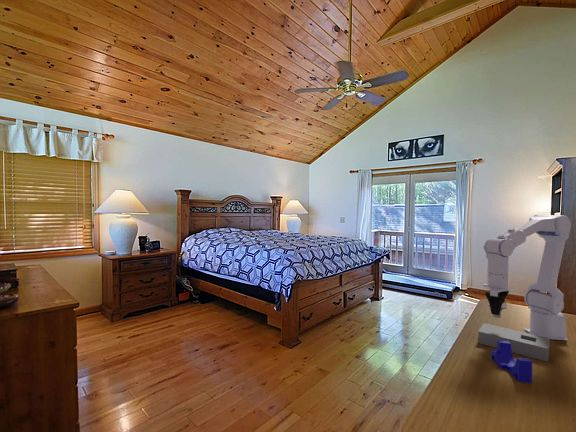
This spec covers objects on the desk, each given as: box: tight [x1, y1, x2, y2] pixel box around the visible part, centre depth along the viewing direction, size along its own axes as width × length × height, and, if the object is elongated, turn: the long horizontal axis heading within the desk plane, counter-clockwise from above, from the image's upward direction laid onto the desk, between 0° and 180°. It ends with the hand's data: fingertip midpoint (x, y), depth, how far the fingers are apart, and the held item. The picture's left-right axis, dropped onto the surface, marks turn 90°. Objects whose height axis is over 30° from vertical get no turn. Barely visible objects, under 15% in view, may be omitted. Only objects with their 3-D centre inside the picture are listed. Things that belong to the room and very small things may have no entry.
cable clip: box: [490, 340, 533, 384], centre depth 83 cm, size 12×4×6 cm, turn 168°
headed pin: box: [487, 300, 507, 319], centre depth 101 cm, size 5×5×5 cm
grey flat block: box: [477, 323, 550, 363], centre depth 98 cm, size 18×10×4 cm, turn 47°
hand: (496, 312), depth 101 cm, fingers closed on headed pin, 5 cm apart
